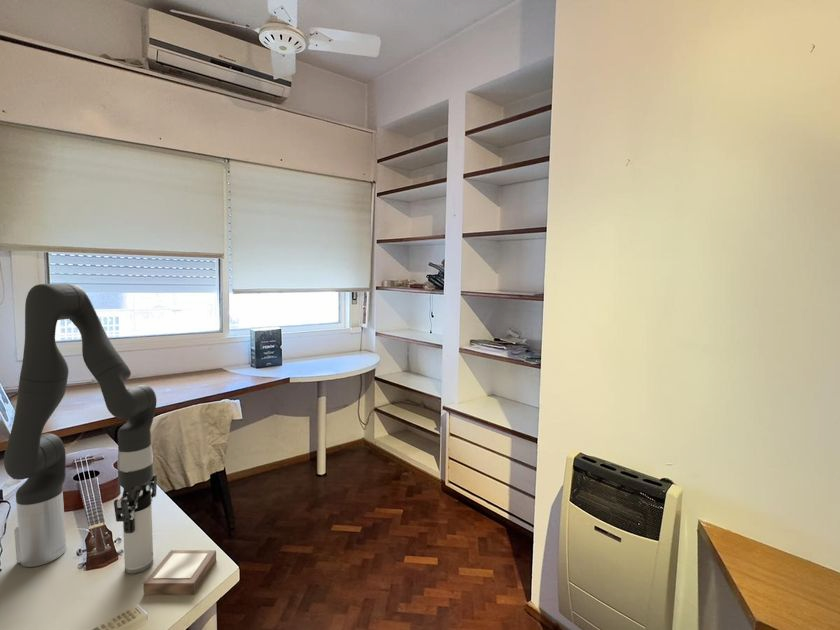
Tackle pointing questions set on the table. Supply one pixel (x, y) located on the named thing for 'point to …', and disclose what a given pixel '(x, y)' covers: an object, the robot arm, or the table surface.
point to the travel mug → (139, 538)
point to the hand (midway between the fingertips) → (138, 524)
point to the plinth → (180, 572)
